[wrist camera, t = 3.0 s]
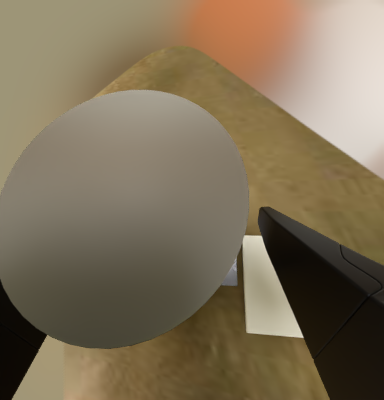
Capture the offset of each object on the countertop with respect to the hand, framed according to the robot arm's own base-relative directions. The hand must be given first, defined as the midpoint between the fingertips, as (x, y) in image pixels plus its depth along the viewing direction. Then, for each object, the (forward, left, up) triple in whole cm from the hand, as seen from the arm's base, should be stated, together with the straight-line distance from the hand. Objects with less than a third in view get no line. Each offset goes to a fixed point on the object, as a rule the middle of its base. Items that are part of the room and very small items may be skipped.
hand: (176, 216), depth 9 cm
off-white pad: (-5, -9, -8) cm, 13 cm away
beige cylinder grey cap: (-1, 0, -8) cm, 8 cm away
